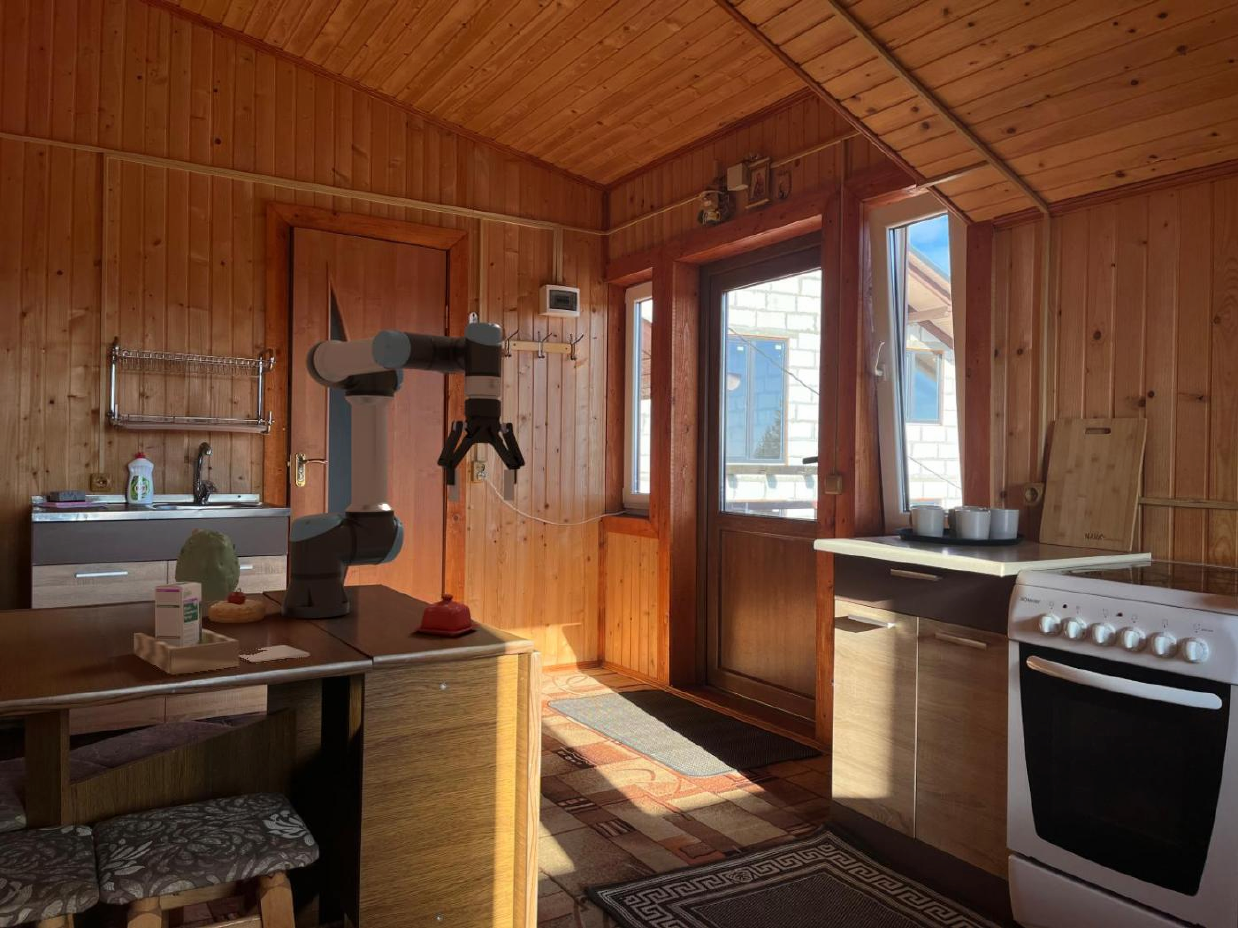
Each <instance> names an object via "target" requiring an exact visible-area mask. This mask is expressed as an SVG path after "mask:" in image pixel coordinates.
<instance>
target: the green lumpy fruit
mask: <svg viewBox="0 0 1238 928" xmlns="http://www.w3.org/2000/svg"><path fill="white" fill-rule="evenodd" d="M235 549H236V543H234V544H232V542H231V539H230V536H228V534H227V533H225V534H224V533H222V532H220V531H217V530H211V529H202V528H194V529H193V530H192V533H191V536H190V537H188V538H187V540H186V541H185V542H184V544H183V546H182V547H181V548H180V552H179V554H178V555H177V559H176V564H175V570H174V571H175V572H174V573H175V574H174V579H175V582H198V583H201V601H214V600H225V599H227V596H228V595H229V594H230V593H232V592H236V590H237V587H238V585H239V582H240V575H241V565H240V564H239V558H238V553H237V551H236V550H235Z"/></svg>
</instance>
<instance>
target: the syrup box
mask: <svg viewBox="0 0 1238 928" xmlns="http://www.w3.org/2000/svg"><path fill="white" fill-rule="evenodd" d="M202 605H203V604H202ZM202 605H201V583H198V582H176V581H175V582H172V583H167V584H166V583H165V584H162V585H156V586H155V587H154V610H155V611H154V614H155V615H154V617H155V618H154V619H155V621H154V623H155V624H154V625H155V627H154V630H155V631H154V632H155V633H154V635H155V637H154V638H155V639H157V640H160V641H162V642H165V643H167V644H170V645H172V646H175V647H185V646H193V645H201V644H202V628H203V627H202V626H203V625H202V624H203V620H202V619H203V617H202V616H203V614H202V613H203V611H202V610H203V608H202Z"/></svg>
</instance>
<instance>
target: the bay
mask: <svg viewBox="0 0 1238 928" xmlns="http://www.w3.org/2000/svg"><path fill="white" fill-rule="evenodd" d="M239 651H240V640H238V639H235V638H231V637H228V636H226V635H223V634H220V633H217V632H214V631H211V630H208V629H205V628H203V627H202V644H201V645H193V646H185V647H175V646H172V645H170V644H167V643H165V642H162V641H160V640H157V639H155V637H153V636H150V635H147V634H145V633H142V632H137V633H135V632H134V634H133V654H134V655H135V656H137V657H139V658H141V659H142V660H143V661H145V662H147V661H148V663H150V664H151V665H153V666H154V665H156V666H157V667H159V668H160V669H159V668H158V669H159V670H161V669H162V670H161V671H163V670H164V671H165V672H164V671H163V672H164V673H166V672H167V673H166V674H168V673H170V674H172V675H173V674H179V673H191V674H195V673H194V672H199V673H201V672H200V671H207V672H209V671H208V670H214V671H217V670H216V669H222V670H224V669H223V668H228V667H234V666H239V667H240V658H239ZM156 666H155V667H156ZM157 667H156V668H157Z"/></svg>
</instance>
